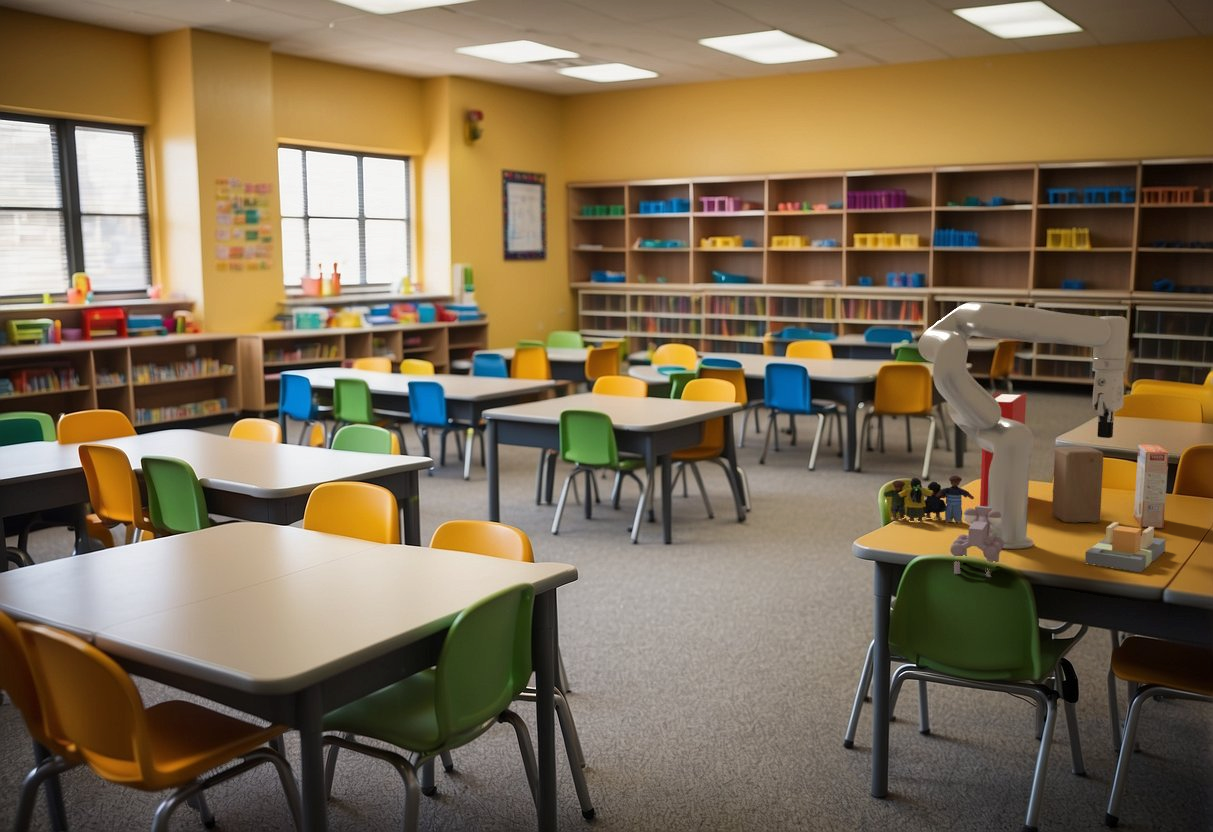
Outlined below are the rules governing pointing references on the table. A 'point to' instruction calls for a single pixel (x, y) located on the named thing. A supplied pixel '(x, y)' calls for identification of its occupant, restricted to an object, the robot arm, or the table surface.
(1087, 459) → the wooden block
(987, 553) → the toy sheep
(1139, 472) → the cracker box
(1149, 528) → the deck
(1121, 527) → the cube
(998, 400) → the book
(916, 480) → the doll family
